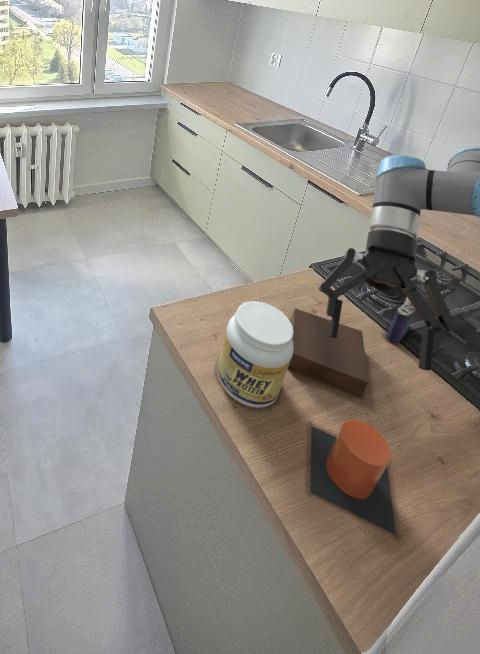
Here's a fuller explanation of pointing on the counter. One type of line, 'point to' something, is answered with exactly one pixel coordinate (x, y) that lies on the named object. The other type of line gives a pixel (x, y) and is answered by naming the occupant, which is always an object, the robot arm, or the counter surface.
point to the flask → (401, 322)
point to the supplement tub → (256, 354)
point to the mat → (321, 485)
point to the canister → (358, 459)
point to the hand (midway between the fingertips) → (376, 352)
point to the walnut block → (328, 353)
